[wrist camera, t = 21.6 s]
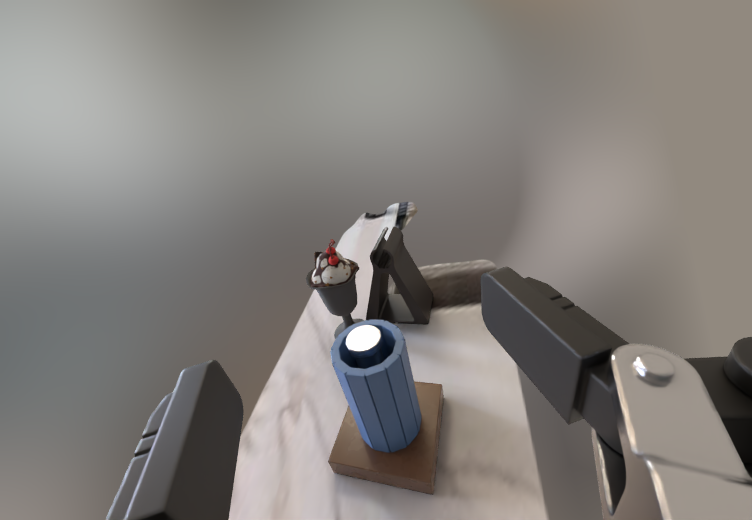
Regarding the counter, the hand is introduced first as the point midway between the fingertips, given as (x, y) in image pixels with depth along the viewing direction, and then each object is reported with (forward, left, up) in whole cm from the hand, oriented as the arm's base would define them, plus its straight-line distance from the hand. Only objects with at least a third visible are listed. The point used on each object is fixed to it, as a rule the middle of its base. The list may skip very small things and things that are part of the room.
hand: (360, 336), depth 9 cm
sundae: (-15, +23, -23) cm, 36 cm away
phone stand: (-9, +28, -23) cm, 37 cm away
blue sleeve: (-5, +10, -21) cm, 24 cm away
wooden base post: (-6, +10, -23) cm, 26 cm away
